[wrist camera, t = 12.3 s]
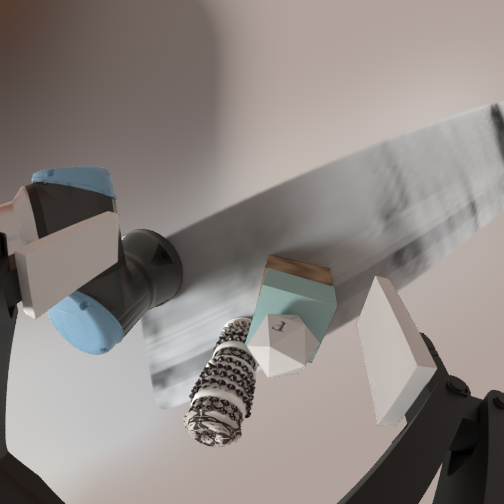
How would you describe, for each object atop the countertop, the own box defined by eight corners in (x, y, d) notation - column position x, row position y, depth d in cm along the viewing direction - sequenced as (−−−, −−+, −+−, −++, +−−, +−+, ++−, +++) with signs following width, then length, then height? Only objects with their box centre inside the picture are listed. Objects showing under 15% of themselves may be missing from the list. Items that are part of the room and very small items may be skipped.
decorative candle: (235, 306, 55) (191, 404, 32) (276, 332, 55) (256, 438, 32) (212, 337, 58) (166, 432, 35) (251, 360, 58) (222, 461, 35)
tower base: (257, 307, 54) (252, 324, 49) (269, 254, 51) (265, 267, 45) (313, 319, 53) (313, 338, 48) (329, 268, 50) (332, 283, 44)
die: (329, 322, 40) (313, 320, 32) (312, 380, 39) (291, 392, 31) (277, 309, 44) (249, 302, 36) (262, 363, 43) (230, 368, 35)
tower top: (251, 323, 49) (244, 344, 43) (267, 267, 45) (262, 284, 39) (311, 340, 48) (311, 363, 42) (333, 286, 44) (337, 305, 39)
